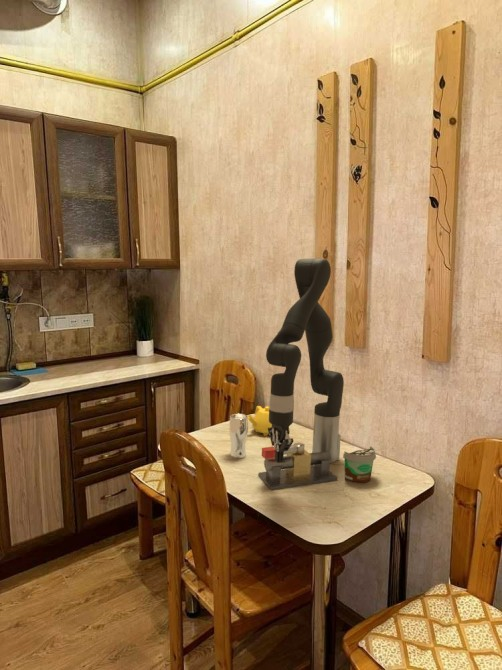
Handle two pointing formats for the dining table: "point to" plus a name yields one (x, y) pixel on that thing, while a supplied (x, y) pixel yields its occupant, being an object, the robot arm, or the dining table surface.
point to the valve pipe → (297, 470)
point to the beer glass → (238, 434)
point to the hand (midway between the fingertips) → (279, 461)
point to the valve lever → (296, 448)
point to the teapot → (261, 420)
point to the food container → (359, 465)
